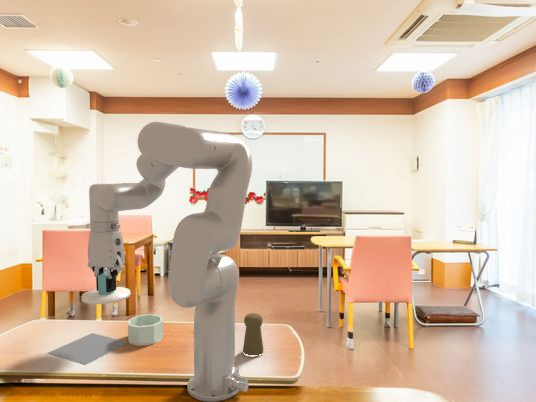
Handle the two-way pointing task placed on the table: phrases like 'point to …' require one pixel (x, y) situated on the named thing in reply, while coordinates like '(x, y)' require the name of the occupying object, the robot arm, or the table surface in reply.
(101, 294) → the lid
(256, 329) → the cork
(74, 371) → the table surface
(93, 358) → the mat
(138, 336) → the bowl
